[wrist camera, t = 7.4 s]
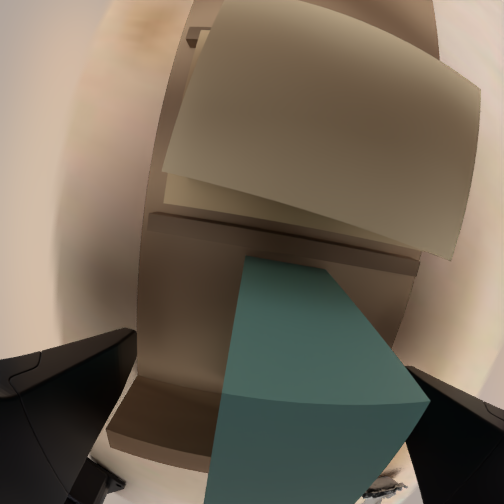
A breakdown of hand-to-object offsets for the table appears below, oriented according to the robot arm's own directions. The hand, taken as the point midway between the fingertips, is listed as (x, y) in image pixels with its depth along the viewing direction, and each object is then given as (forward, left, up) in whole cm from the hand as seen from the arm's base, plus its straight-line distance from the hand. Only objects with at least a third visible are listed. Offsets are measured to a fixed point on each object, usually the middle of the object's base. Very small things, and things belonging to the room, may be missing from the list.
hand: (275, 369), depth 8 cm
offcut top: (+6, +4, 0) cm, 7 cm away
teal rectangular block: (0, 0, -3) cm, 3 cm away
